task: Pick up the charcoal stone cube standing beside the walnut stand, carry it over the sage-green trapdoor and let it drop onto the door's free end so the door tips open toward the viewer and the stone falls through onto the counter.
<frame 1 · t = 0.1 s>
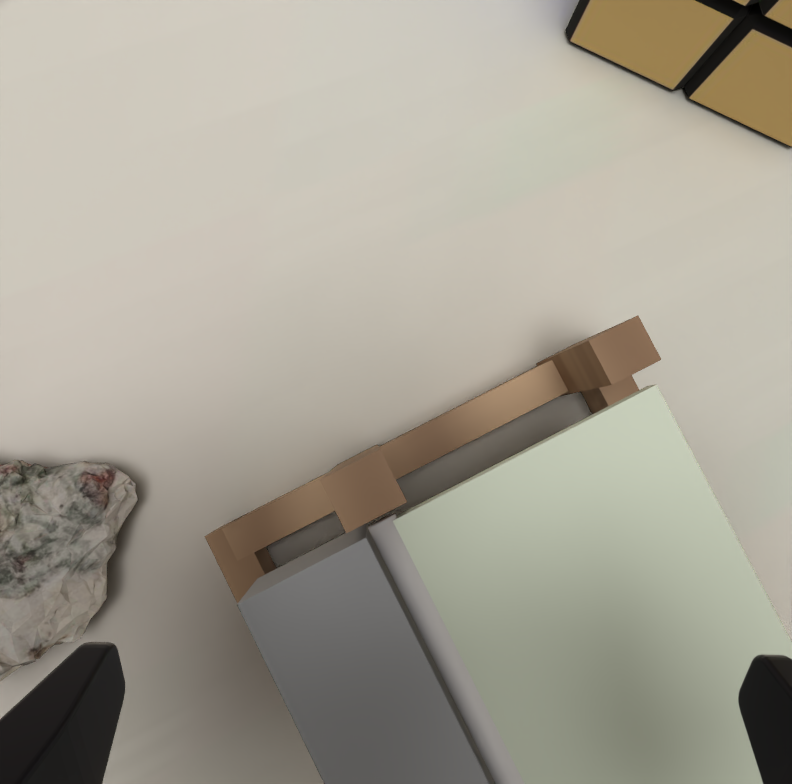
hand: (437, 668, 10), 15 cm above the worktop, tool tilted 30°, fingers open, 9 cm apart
trapdoor: (542, 671, 18), point 6 cm above the worktop, hinge at 0.0°
trapdoor frame: (497, 610, 24), on the worktop
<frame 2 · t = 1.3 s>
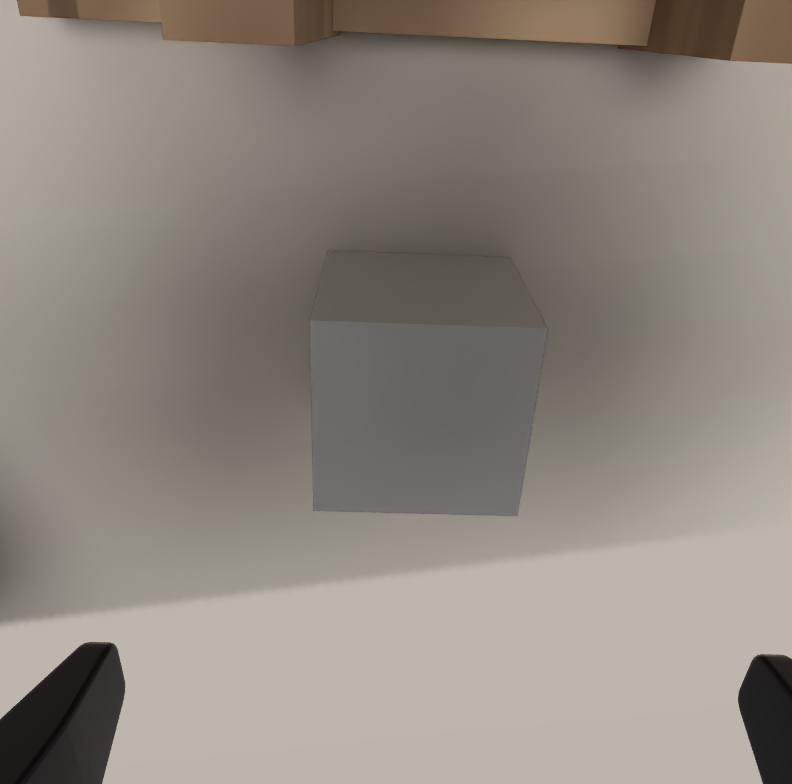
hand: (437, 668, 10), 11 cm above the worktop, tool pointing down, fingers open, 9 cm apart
stone: (417, 375, 17), point 2 cm above the worktop
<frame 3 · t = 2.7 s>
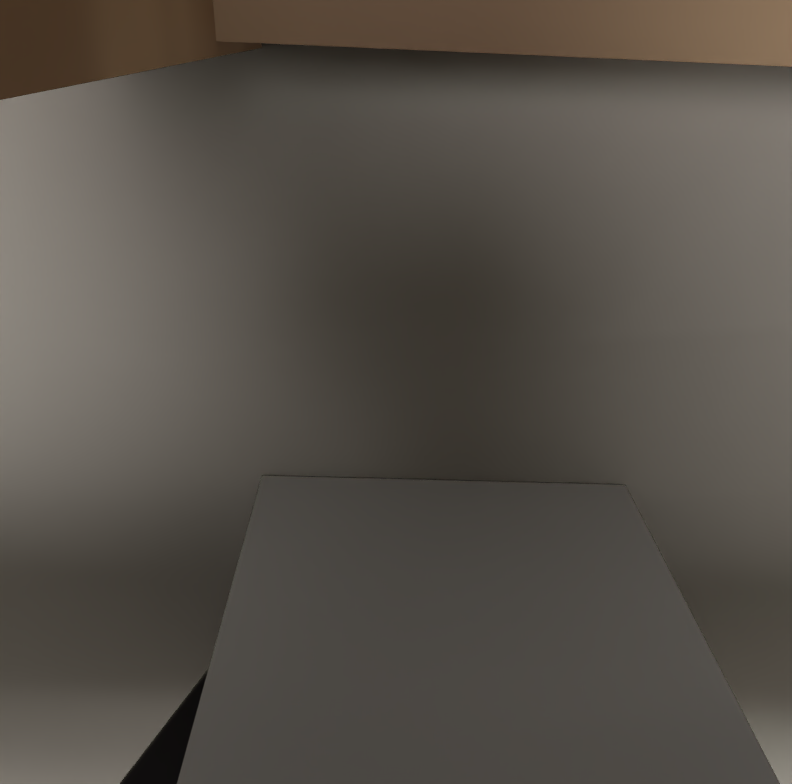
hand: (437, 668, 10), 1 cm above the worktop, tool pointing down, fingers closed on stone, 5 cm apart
stone: (445, 768, 8), point 2 cm above the worktop, touching gripper
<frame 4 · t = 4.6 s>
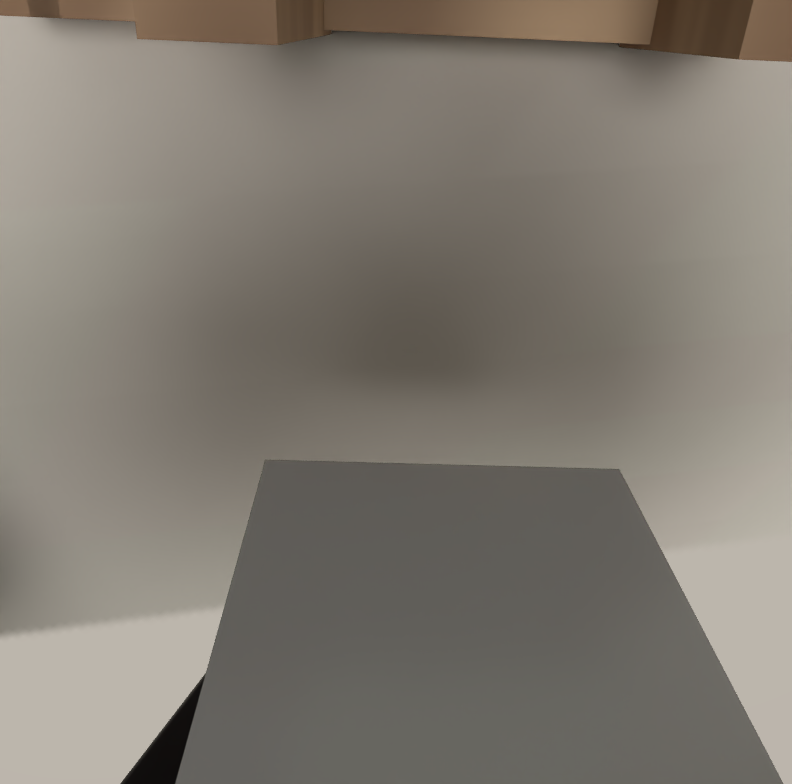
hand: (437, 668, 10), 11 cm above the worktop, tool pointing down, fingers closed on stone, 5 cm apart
stone: (443, 741, 8), point 12 cm above the worktop, touching gripper
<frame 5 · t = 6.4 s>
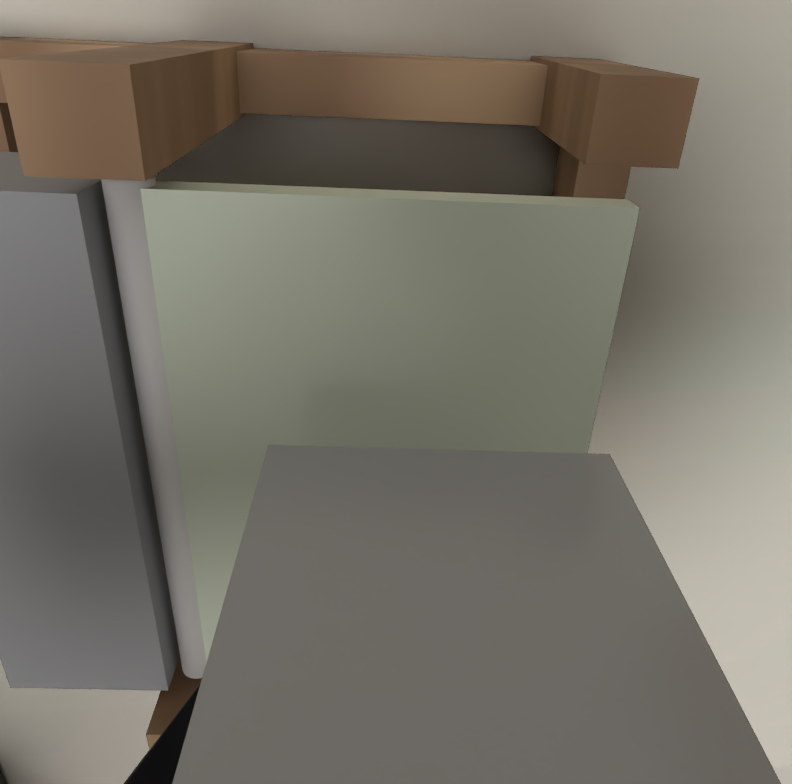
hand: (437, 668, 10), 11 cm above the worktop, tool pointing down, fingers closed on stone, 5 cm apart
trapdoor: (278, 453, 14), point 6 cm above the worktop, hinge at 0.0°
stone: (439, 714, 9), point 12 cm above the worktop, touching gripper
trapdoor frame: (310, 330, 19), on the worktop
when the fingers open (11 cm above the worktop, at t = 6.7 s): stone drops 5 cm, resting on trapdoor.
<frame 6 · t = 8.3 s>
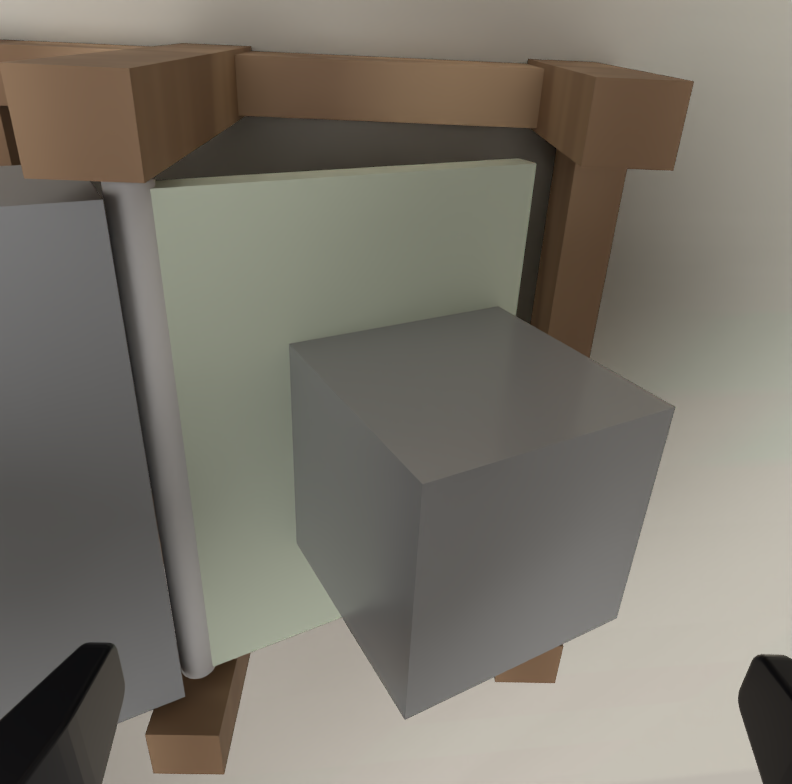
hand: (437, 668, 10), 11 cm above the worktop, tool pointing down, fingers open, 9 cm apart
trapdoor: (256, 431, 15), point 5 cm above the worktop, hinge at -28.4°, touching stone
stone: (457, 485, 13), point 7 cm above the worktop, tilted 28°, touching trapdoor
trapdoor frame: (308, 331, 19), on the worktop
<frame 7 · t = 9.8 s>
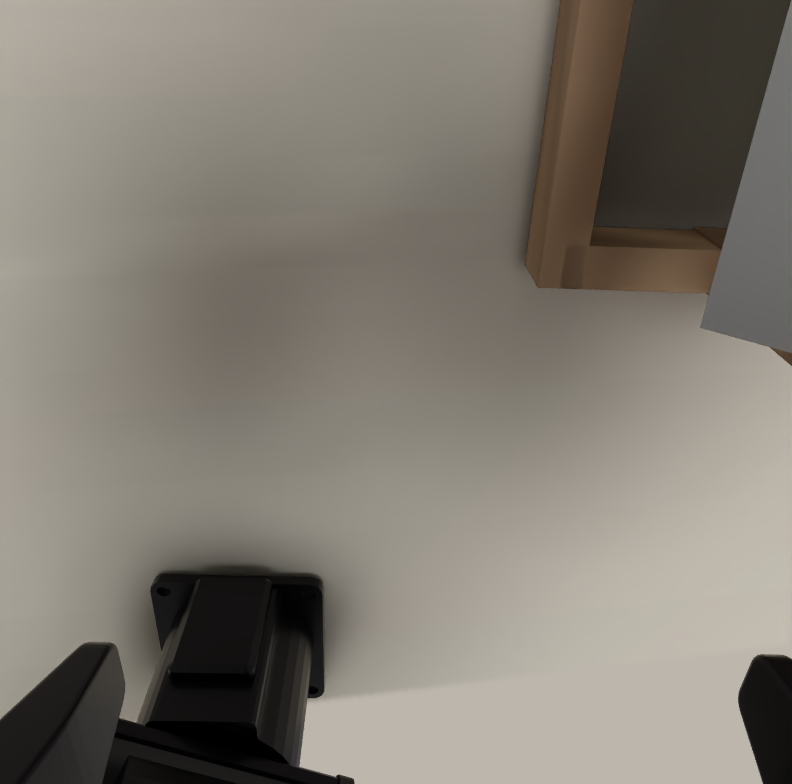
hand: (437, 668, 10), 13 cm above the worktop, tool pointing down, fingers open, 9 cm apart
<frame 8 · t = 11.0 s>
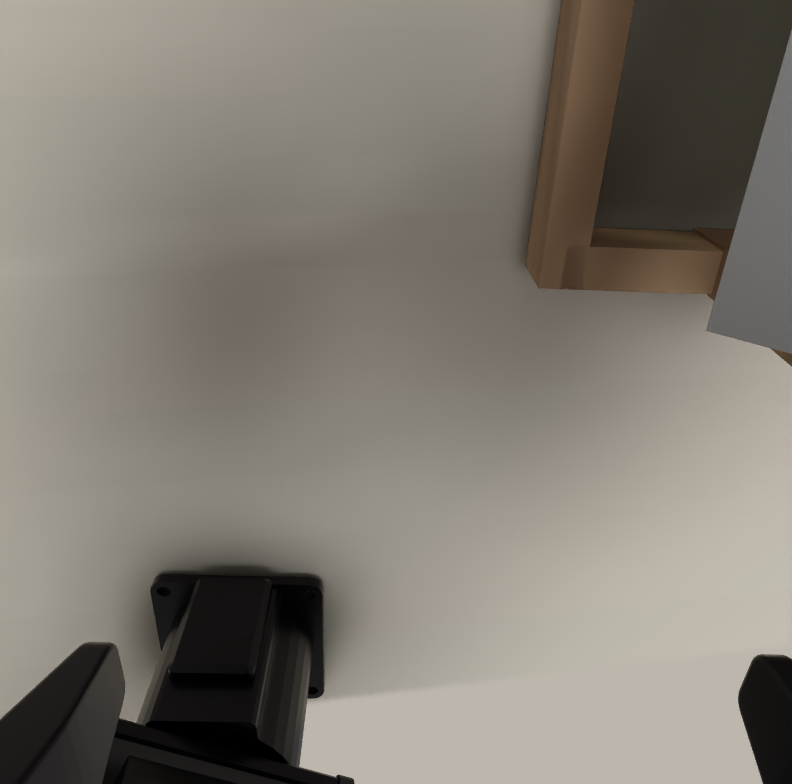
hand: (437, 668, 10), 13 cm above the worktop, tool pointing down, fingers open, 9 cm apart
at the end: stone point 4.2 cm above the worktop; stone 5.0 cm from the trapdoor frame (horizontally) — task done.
